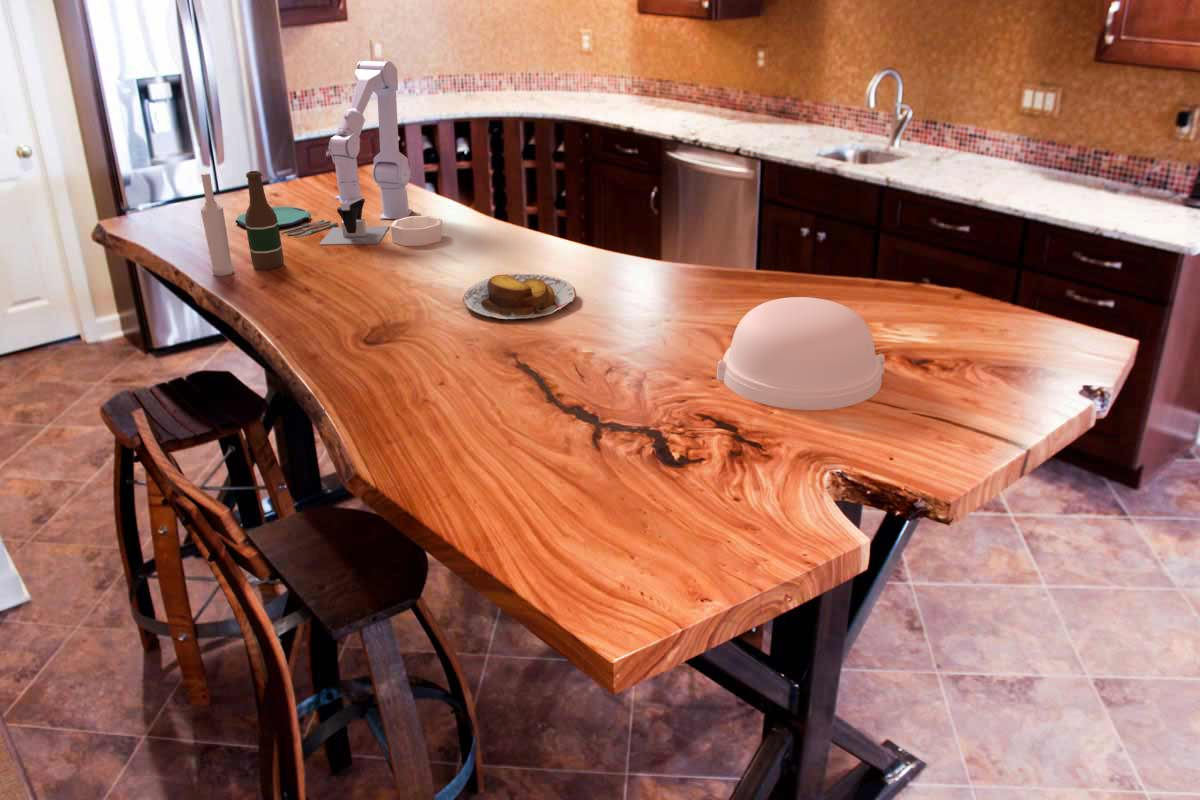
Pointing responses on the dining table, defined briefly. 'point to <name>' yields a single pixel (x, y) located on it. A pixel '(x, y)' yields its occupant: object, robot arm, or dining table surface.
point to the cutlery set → (292, 220)
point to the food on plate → (519, 295)
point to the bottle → (215, 231)
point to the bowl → (417, 230)
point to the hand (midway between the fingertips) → (354, 229)
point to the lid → (355, 235)
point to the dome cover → (802, 356)
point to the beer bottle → (262, 227)
